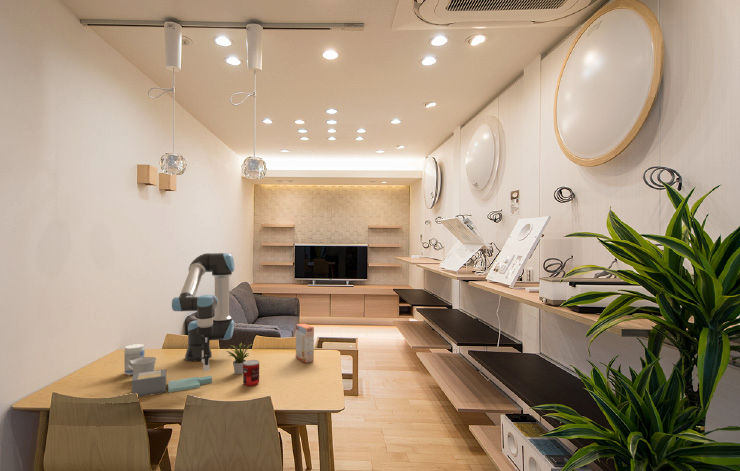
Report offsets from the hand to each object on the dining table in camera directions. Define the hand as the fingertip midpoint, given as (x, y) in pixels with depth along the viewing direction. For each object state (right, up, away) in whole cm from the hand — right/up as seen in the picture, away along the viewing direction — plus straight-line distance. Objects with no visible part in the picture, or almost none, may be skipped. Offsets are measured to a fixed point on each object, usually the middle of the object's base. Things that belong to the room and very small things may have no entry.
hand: (205, 366), depth 201 cm
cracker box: (+45, -8, +36) cm, 59 cm away
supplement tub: (-45, -8, +13) cm, 47 cm away
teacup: (-35, -8, +3) cm, 37 cm away
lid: (-6, -8, -4) cm, 11 cm away
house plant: (+14, -8, +15) cm, 22 cm away
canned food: (+24, -8, -2) cm, 26 cm away
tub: (-22, -8, -12) cm, 26 cm away
